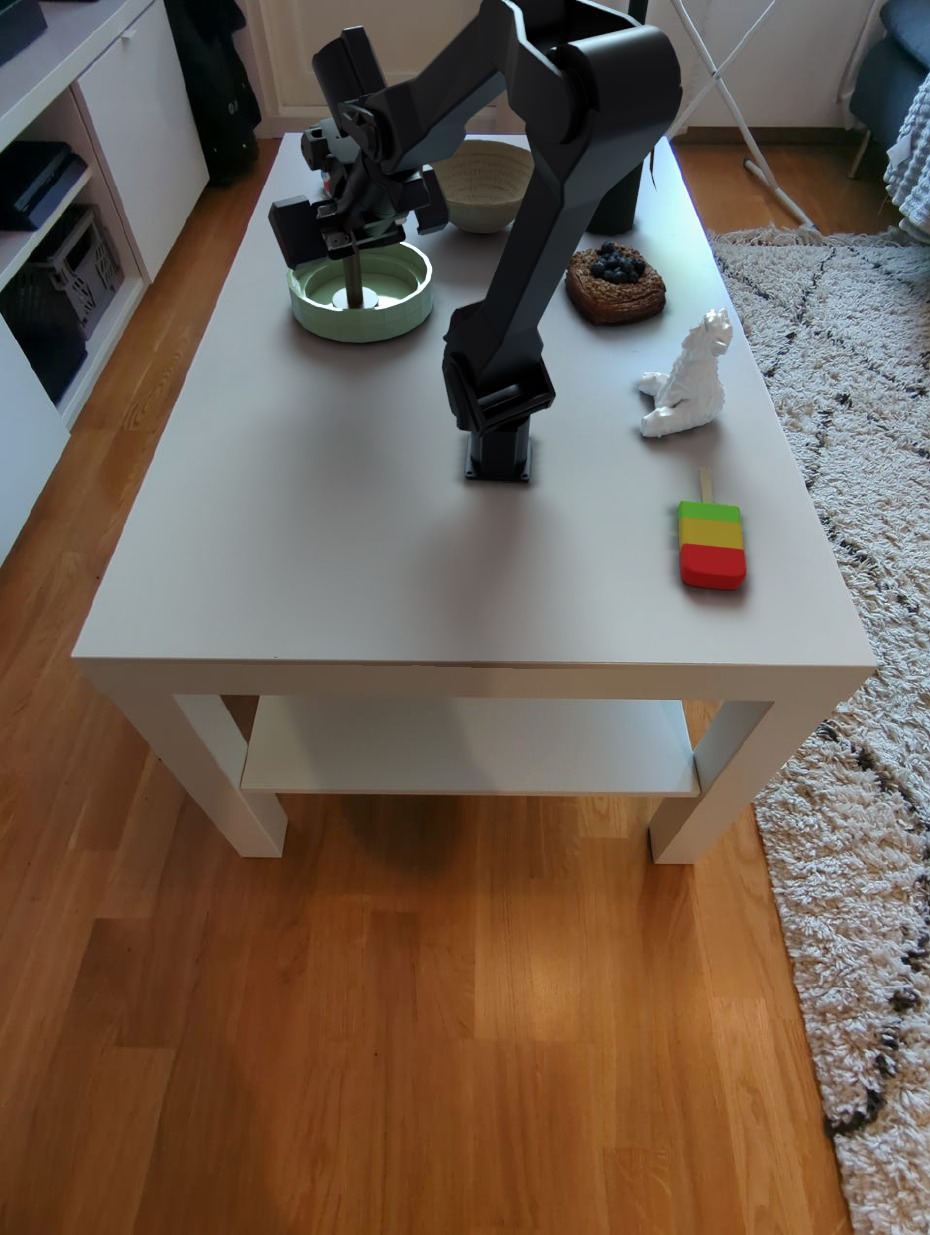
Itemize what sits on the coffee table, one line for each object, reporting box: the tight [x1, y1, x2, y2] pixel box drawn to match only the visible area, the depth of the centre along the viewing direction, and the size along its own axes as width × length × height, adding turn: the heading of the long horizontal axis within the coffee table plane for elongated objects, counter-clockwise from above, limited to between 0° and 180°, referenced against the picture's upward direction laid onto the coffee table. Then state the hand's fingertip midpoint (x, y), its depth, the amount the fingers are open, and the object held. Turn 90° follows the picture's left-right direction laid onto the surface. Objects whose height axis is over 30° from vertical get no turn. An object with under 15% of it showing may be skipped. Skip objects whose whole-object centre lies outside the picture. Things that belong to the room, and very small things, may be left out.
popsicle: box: [677, 466, 747, 591], centre depth 70 cm, size 6×15×2 cm, turn 172°
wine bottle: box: [585, 0, 657, 237], centre depth 94 cm, size 8×10×30 cm
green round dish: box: [285, 241, 435, 344], centre depth 91 cm, size 17×17×4 cm
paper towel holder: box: [332, 198, 379, 309], centre depth 86 cm, size 6×6×14 cm
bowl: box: [428, 138, 534, 234], centre depth 102 cm, size 18×18×8 cm
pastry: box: [563, 240, 667, 328], centre depth 92 cm, size 11×12×6 cm
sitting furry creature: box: [638, 307, 734, 439], centre depth 76 cm, size 10×9×12 cm
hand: (346, 248), depth 86 cm, fingers closed on paper towel holder
